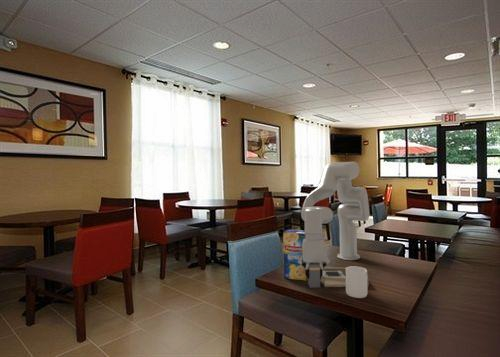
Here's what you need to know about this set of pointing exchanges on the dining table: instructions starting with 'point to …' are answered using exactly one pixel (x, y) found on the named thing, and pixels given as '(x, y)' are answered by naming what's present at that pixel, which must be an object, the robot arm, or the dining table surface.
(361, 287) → the mug
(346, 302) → the dining table surface
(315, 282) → the block
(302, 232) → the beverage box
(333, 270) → the box
